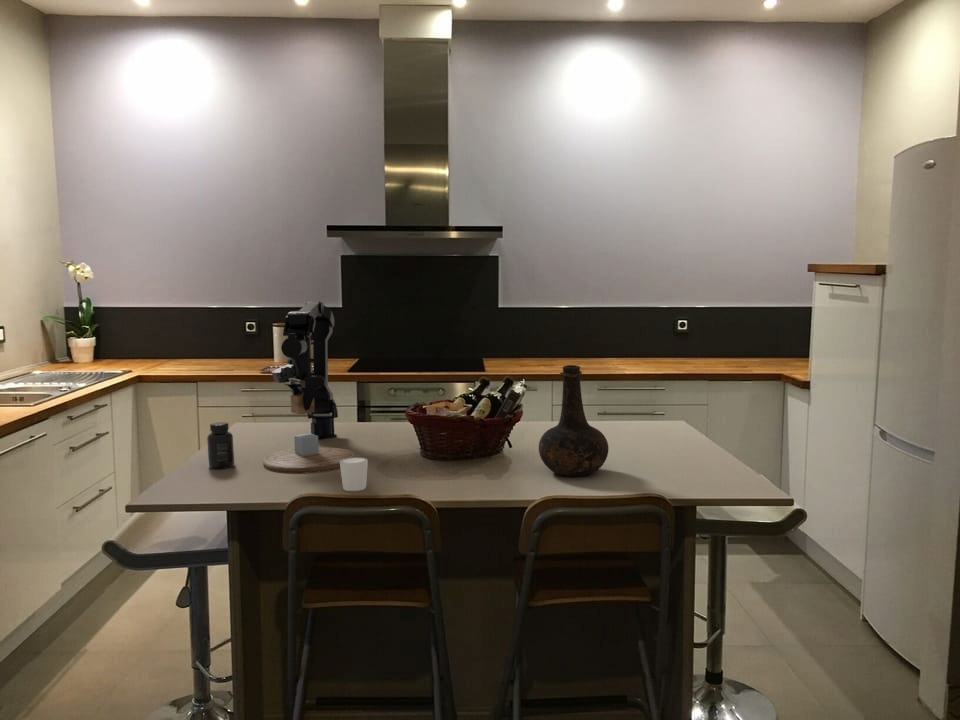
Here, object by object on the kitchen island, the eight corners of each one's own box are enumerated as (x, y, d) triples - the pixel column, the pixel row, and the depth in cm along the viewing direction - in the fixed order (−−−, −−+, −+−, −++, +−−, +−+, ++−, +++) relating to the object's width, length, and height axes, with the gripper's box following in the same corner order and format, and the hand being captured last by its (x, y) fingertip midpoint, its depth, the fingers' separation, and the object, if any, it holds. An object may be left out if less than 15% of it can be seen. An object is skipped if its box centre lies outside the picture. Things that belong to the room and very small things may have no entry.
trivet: (372, 462, 237) (372, 455, 237) (297, 479, 219) (297, 472, 219) (319, 449, 254) (319, 443, 254) (245, 464, 236) (245, 458, 236)
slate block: (311, 450, 245) (310, 433, 244) (318, 453, 241) (318, 436, 240) (295, 452, 242) (294, 435, 241) (302, 455, 238) (301, 438, 237)
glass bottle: (616, 467, 224) (616, 362, 221) (596, 484, 208) (596, 371, 205) (552, 462, 231) (551, 360, 228) (529, 477, 215) (527, 368, 212)
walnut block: (307, 410, 249) (306, 393, 248) (314, 412, 245) (314, 395, 244) (291, 412, 246) (290, 395, 245) (298, 414, 242) (297, 396, 241)
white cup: (341, 484, 211) (340, 457, 210) (369, 483, 212) (368, 456, 211) (339, 492, 204) (338, 463, 203) (367, 491, 205) (367, 462, 204)
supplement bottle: (238, 463, 235) (236, 421, 234) (228, 469, 229) (226, 425, 227) (214, 463, 236) (212, 421, 235) (204, 469, 229) (202, 425, 228)
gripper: (261, 355, 246) (263, 408, 248) (288, 358, 231) (290, 415, 233) (297, 352, 253) (299, 404, 254) (325, 356, 238) (327, 411, 239)
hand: (302, 408), depth 245 cm, fingers closed on walnut block, 5 cm apart
